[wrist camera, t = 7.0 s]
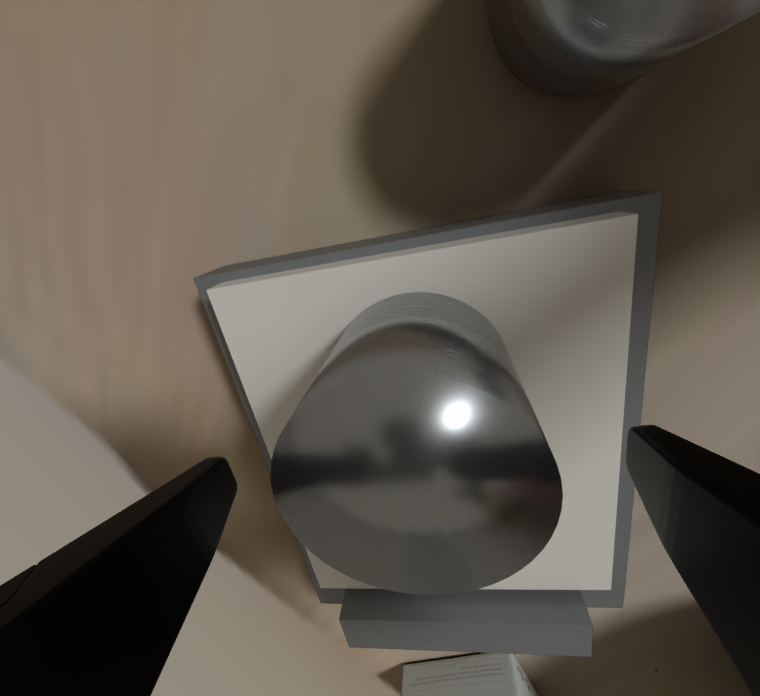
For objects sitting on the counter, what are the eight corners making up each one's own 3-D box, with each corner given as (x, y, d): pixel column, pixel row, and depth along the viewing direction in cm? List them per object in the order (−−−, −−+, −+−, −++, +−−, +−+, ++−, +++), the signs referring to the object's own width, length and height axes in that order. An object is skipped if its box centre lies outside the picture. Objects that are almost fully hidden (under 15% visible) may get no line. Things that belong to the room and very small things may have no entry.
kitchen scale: (625, 190, 11) (715, 193, 8) (603, 565, 18) (647, 663, 14) (224, 266, 14) (151, 294, 10) (331, 567, 21) (309, 649, 17)
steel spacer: (503, 277, 10) (560, 353, 5) (515, 441, 12) (564, 597, 7) (314, 307, 11) (231, 391, 7) (354, 453, 13) (312, 594, 9)
